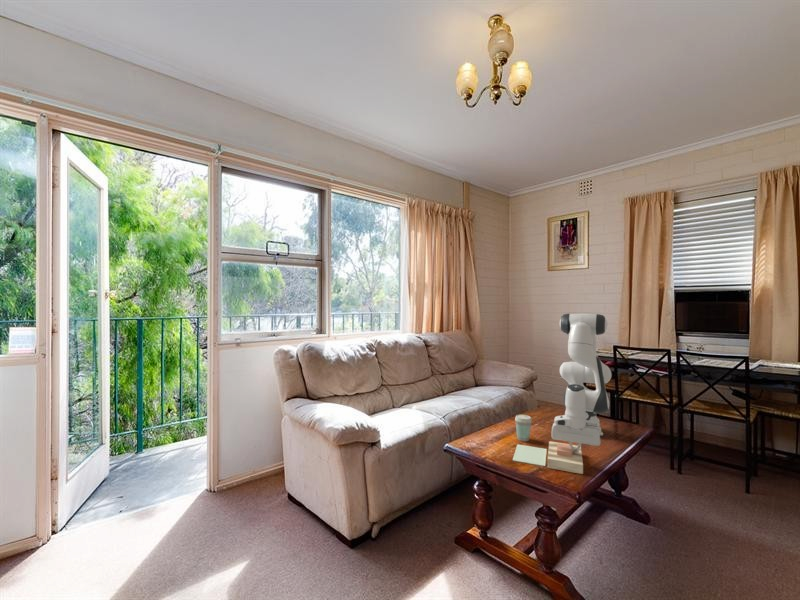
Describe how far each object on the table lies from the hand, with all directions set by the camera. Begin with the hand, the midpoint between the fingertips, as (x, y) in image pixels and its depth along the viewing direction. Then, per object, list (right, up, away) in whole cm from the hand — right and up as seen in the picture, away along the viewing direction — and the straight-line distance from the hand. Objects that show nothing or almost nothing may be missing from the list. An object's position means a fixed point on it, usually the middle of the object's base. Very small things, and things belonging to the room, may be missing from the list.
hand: (575, 451), depth 168 cm
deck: (-4, -5, +2) cm, 7 cm away
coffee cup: (-14, -5, +27) cm, 31 cm away
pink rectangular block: (-4, -1, +2) cm, 5 cm away
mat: (-18, -5, +8) cm, 20 cm away
